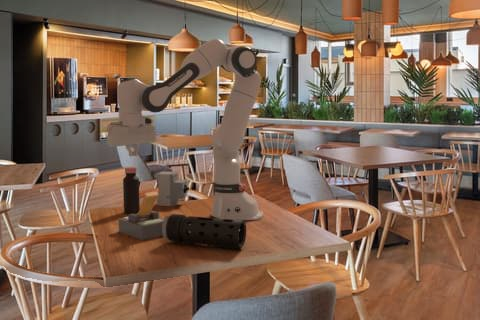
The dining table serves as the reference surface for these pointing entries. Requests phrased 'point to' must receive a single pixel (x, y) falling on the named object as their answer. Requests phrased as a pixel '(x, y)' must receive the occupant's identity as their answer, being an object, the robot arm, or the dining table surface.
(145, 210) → the lever
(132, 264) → the dining table surface
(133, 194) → the bottle
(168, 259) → the dining table surface
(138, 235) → the panel
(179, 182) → the circuit breaker
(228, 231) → the muzzle brake
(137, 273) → the dining table surface
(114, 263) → the dining table surface
